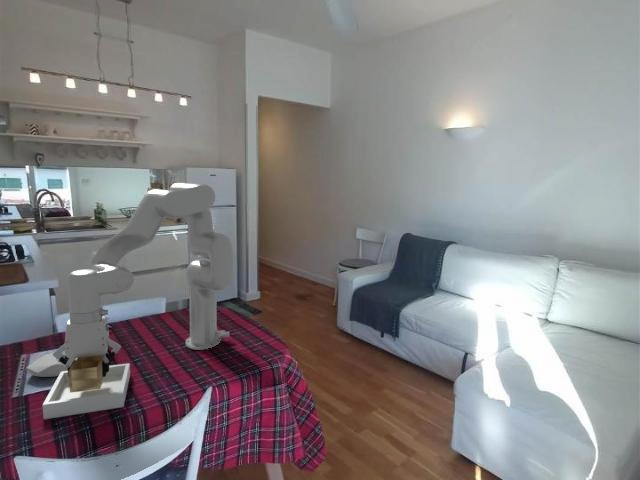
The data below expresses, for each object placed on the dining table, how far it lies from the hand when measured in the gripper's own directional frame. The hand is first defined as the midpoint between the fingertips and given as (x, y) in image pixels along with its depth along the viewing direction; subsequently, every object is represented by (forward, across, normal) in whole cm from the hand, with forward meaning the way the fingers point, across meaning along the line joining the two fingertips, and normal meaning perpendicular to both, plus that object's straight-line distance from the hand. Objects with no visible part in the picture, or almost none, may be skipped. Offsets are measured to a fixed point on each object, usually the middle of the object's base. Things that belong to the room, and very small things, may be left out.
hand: (89, 376), depth 106 cm
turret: (+6, +10, -19) cm, 22 cm away
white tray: (+6, 0, 0) cm, 6 cm away
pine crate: (+1, 0, 0) cm, 1 cm away
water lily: (+6, +6, -51) cm, 52 cm away
